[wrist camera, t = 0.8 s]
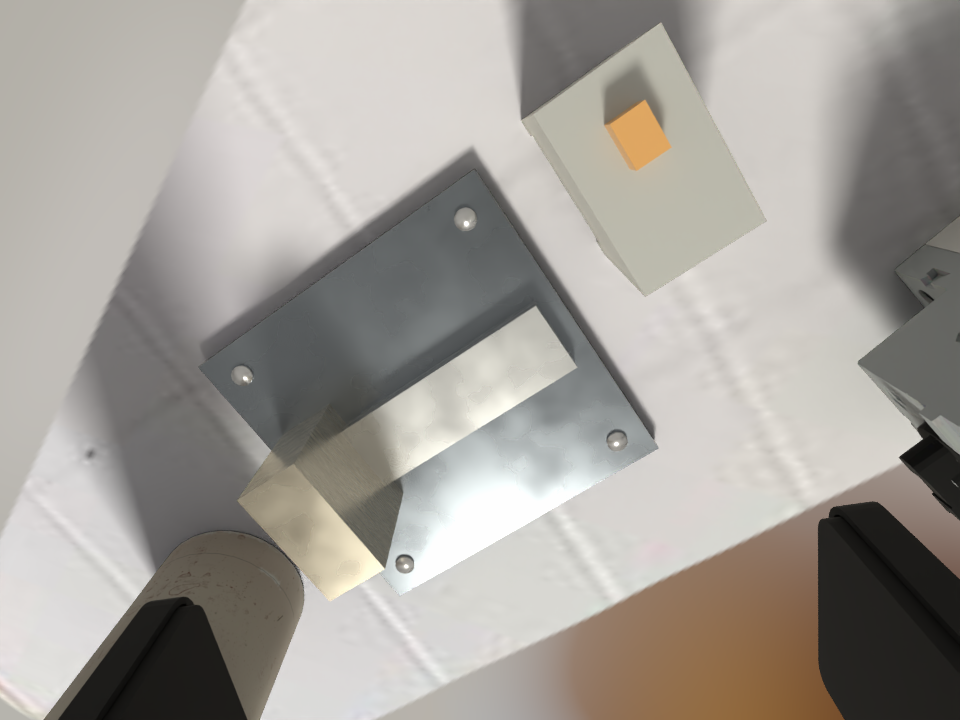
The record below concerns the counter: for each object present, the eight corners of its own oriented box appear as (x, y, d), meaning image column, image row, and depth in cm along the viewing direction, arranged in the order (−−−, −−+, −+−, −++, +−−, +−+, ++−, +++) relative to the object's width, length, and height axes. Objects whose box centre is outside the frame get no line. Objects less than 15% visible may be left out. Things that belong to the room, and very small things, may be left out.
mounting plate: (474, 168, 28) (470, 178, 22) (654, 440, 32) (695, 516, 26) (205, 361, 31) (131, 420, 25) (401, 586, 35) (381, 686, 29)
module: (612, 54, 26) (670, 16, 18) (692, 198, 28) (780, 224, 20) (521, 120, 27) (534, 113, 19) (604, 255, 29) (652, 304, 21)
